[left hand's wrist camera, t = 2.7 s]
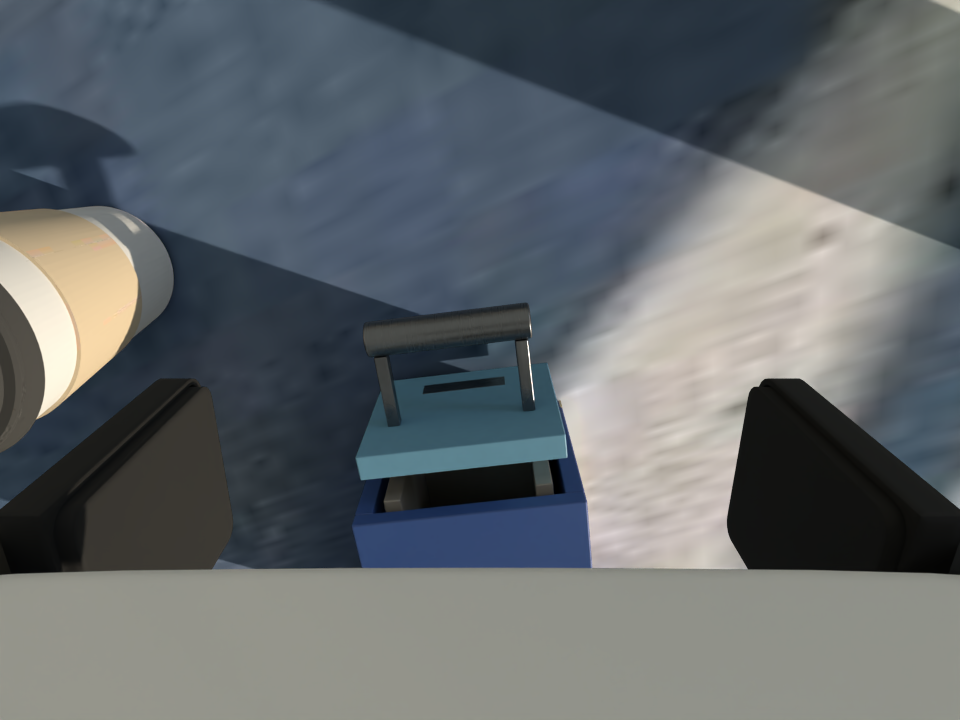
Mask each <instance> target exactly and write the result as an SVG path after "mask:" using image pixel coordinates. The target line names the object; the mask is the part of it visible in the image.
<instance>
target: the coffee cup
mask: <svg viewBox="0 0 960 720" xmlns="http://www.w3.org/2000/svg"><path fill="white" fill-rule="evenodd" d="M173 284H174V276H173V268H172V264H171V260H170V257H169V255H168V252H167V250H166V248H165V247H164V245H163V243H162V242H161V240H160V239H159V238H158V236H157V235H156V234H155V233H154V232H153V231H152V230H151V229H150V228H149V227H148V226H147V225H146V224H145V223H144V222H142V221H141V220H139V219H138V218H136V217H135V216H133V215H131V214H129V213H127V212H125V211H122V210H119V209H116V208H112V207H105V206H91V207H81V208H71V209H62V210H54V209H31V210H20V211H8V212H0V453H1V452H3V451H5V450H6V449H8V448H10V447H11V446H13V445H14V444H16V443H17V442H18V441H19V440H20V439H21V438H22V437H24V435H25V434H26V433H27V432H28V431H29V430H30V428H31V427H32V425H33V424H34V422H35V420H36V419H38V418H41V417H43V416H45V415H46V414H48V413H50V412H51V411H52V410H54V409H55V408H56V407H57V406H59V405H60V404H61V403H62V402H63V401H64V400H65V399H67V398H68V397H69V396H70V395H71V394H72V393H73V392H75V391H76V390H77V389H78V388H79V387H80V386H81V385H83V384H84V383H85V382H86V381H87V380H88V379H89V378H90V377H92V376H93V375H94V374H95V373H96V372H97V371H98V370H100V369H101V368H102V367H103V366H104V365H105V364H106V363H108V362H109V361H110V360H111V359H112V358H113V357H114V356H115V355H117V354H118V353H119V352H120V351H121V350H122V349H123V348H124V347H126V345H127V344H128V343H129V342H130V341H131V339H132V338H133V337H134V336H136V335H137V334H138V333H139V332H140V331H142V330H143V329H144V328H145V327H146V326H147V325H149V324H150V323H151V322H152V321H153V320H155V319H156V318H157V317H158V316H159V315H160V314H161V313H162V312H163V311H164V309H165V308H166V306H167V305H168V303H169V300H170V298H171V295H172V291H173Z"/></svg>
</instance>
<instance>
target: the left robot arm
mask: <svg viewBox="0 0 960 720" xmlns="http://www.w3.org/2000/svg"><path fill="white" fill-rule="evenodd" d="M232 528H233V516H232V510H231V504H230V499H229V493H228V487H227V481H226V476H225V470H224V464H223V458H222V453H221V447H220V441H219V435H218V430H217V424H216V418H215V413H214V407H213V401H212V396H211V392H210V391H209V389H208V388H207V387H201V386H200V384H199V382H198V381H197V380H196V379H159V380H157V381H156V382H154V383H153V384H152V385H151V386H150V387H148V388H147V389H146V390H145V391H143V392H142V393H141V394H140V395H139V396H137V397H136V398H135V399H134V400H133V401H131V402H130V403H129V404H128V405H126V406H125V407H124V408H123V409H122V410H120V411H119V412H118V413H117V414H116V415H114V416H113V417H112V418H111V419H109V420H108V421H107V422H106V423H105V424H103V425H102V426H101V427H100V428H98V429H97V430H96V431H95V432H94V433H92V434H91V435H90V436H89V437H88V438H86V439H85V440H84V441H83V442H81V443H80V444H79V445H78V446H77V447H75V448H74V449H73V450H72V451H71V452H69V453H68V454H67V455H66V456H64V457H63V458H62V459H61V460H60V461H58V462H57V463H56V464H55V465H54V466H52V467H51V468H50V469H49V470H47V471H46V472H45V473H44V474H43V475H41V476H40V477H39V478H38V479H37V480H35V481H34V482H33V483H32V484H30V485H29V486H28V487H27V488H26V489H24V490H23V491H22V492H21V493H20V494H18V495H17V496H16V497H15V498H13V499H12V500H11V501H10V502H9V503H7V504H6V505H5V506H4V507H3V508H1V509H0V720H960V509H959V508H957V507H956V506H955V505H954V504H953V503H951V502H950V501H949V500H948V499H947V498H945V497H944V496H943V495H942V494H940V493H939V492H938V491H937V490H936V489H934V488H933V487H932V486H931V485H930V484H928V483H927V482H926V481H925V480H923V479H922V478H921V477H920V476H919V475H917V474H916V473H915V472H914V471H913V470H911V469H910V468H909V467H908V466H906V465H905V464H904V463H903V462H902V461H900V460H899V459H898V458H897V457H896V456H894V455H893V454H892V453H891V452H889V451H888V450H887V449H886V448H885V447H883V446H882V445H881V444H880V443H879V442H877V441H876V440H875V439H874V438H872V437H871V436H870V435H869V434H868V433H866V432H865V431H864V430H863V429H861V428H860V427H859V426H858V425H857V424H855V423H854V422H853V421H852V420H851V419H849V418H848V417H847V416H846V415H844V414H843V413H842V412H841V411H840V410H838V409H837V408H836V407H835V406H834V405H832V404H831V403H830V402H829V401H827V400H826V399H825V398H824V397H823V396H821V395H820V394H819V393H818V392H817V391H815V390H814V389H813V388H812V387H810V386H809V385H808V384H807V383H806V382H804V381H803V380H801V379H764V380H763V381H762V382H761V384H760V386H759V387H753V388H752V389H751V391H750V392H749V396H748V401H747V407H746V413H745V418H744V424H743V430H742V435H741V441H740V447H739V453H738V458H737V464H736V470H735V476H734V481H733V487H732V493H731V499H730V504H729V510H728V516H727V528H728V533H729V537H730V539H731V541H732V543H733V544H734V546H735V548H736V550H737V551H738V553H739V555H740V556H741V558H742V560H743V561H744V563H745V565H746V567H747V568H748V570H746V569H629V568H312V569H219V570H212V568H213V567H214V565H215V563H216V561H217V560H218V558H219V556H220V555H221V553H222V551H223V550H224V548H225V546H226V544H227V543H228V541H229V539H230V537H231V533H232Z"/></svg>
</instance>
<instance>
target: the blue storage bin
mask: <svg viewBox="0 0 960 720" xmlns="http://www.w3.org/2000/svg"><path fill="white" fill-rule="evenodd" d="M557 403H558V407H559V411H560V415H561V419H562V423H563V427H564V431H565V434H566V445H567V458H561V459H551V460H549V466H550V471H551V476H552V482H553V490H554V495H545V496H536V497H526V498H517V499H508V500H498V501H489V502H479V503H470V504H460V505H451V506H442V507H432V508H423V509H413V510H404V511H394V512H386V510H385V506H384V499H385V495H386V491H387V487H388V483H389V480H390V477H386V478H377V479H368V480H366V482H365V485H364V489H363V492H362V495H361V498H360V501H359V504H358V507H357V510H356V513H355V517H354V520H353V523H352V531H353V535H354V539H355V543H356V547H357V551H358V555H359V559H360V563H361V567H362V568H592V558H591V546H590V533H589V520H588V507H587V500H586V496H585V493H584V488H583V485H582V481H581V477H580V473H579V470H578V466H577V462H576V458H575V455H574V451H573V447H572V443H571V440H570V436H569V432H568V428H567V425H566V421H565V417H564V413H563V409H562V404H561V401H557Z"/></svg>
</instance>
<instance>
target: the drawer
mask: <svg viewBox="0 0 960 720" xmlns="http://www.w3.org/2000/svg"><path fill="white" fill-rule="evenodd" d="M528 338H532V326H531V317H530V310H529V305H528V303H518V304H510V305H502V306H494V307H486V308H478V309H469V310H461V311H453V312H445V313H437V314H429V315H420V316H412V317H404V318H396V319H388V320H380V321H372V322H366V323H365V324H364V326H363V341H364V346H365V350H366V353H367V355H368V356H369V357H374V361H375V366H376V371H377V376H378V381H379V385H380V390H381V391H380V394H379V397H378V399H377V402H376V405H375V407H374V410H373V412H372V415H371V418H370V420H369V423H368V426H367V428H366V431H365V434H364V436H363V439H362V442H361V444H360V447H359V450H358V452H357V455H356V463H357V467H358V471H359V476H360V479H361V480H368V479H377V478H386V477H390V480H389V483H388V487H387V491H386V495H385V499H384V506H385V510H386V512H394V511H404V510H413V509H423V508H432V507H442V506H451V505H460V504H470V503H479V502H489V501H498V500H508V499H517V498H526V497H536V496H545V495H554V490H553V482H552V476H551V471H550V466H549V460H551V459H561V458H567V445H566V434H565V431H564V427H563V423H562V419H561V415H560V411H559V407H558V403H557V399H556V395H555V391H554V387H553V383H552V380H551V376H550V372H549V368H548V364H547V363H540V364H531V362H530V353H529V344H528ZM511 340H515V347H516V356H517V365H518V366H514V367H506V368H497V369H489V370H480V371H472V372H463V373H455V374H446V375H438V376H429V377H421V378H412V379H404V380H395V381H394V379H393V374H392V369H391V364H390V359H389V355H394V354H403V353H411V352H419V351H428V350H436V349H444V348H453V347H461V346H470V345H478V344H486V343H495V342H503V341H511Z"/></svg>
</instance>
